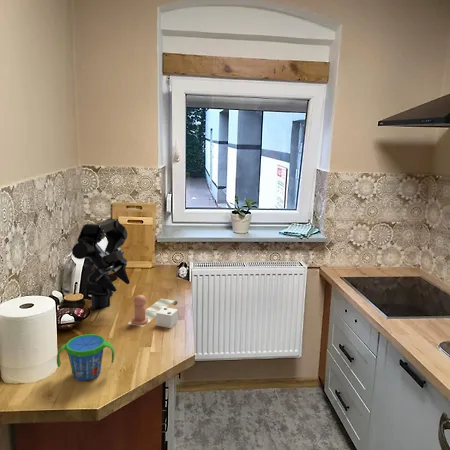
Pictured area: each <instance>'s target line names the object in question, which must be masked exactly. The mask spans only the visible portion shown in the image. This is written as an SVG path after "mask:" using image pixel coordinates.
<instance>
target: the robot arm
mask: <svg viewBox="0 0 450 450" xmlns="http://www.w3.org/2000/svg"><path fill="white" fill-rule="evenodd" d="M104 237H106V241H107V245H106V246H105V250H103V249H102V248H101V246H100V245H99V243H101V242H102V240H103V239H104ZM127 238H128V231H127V229H126V227H125V226H124V225H123V224H121V223H120V221H119V220H118V219H115V218H106V219H105V220H103V221H100V222H97V223H85V224H84V225H83V226H82V228H81V230H80V233H79V234H78V238H77V243H75V244H74V245H73V247H72V249H71V253H72V256H73V257H74V258H75V259H77V260H83V259H89V260H90V263H89V264H90V266H94V267H95V268H96V269H94V270H93V271H91V272H90V274H89V275H87V281H86V285H85V286H86V292H87V295H88V296H91V297H90V298H91V300H90V301H91V306H89V309H91V310H92V311H94V312H95V311H99V310H103V309H106V308H110V306H111V296H113V293H116V292H117V291H118V290H117V289H116V287H115V285H114V284H113V282H112V280H111V279H110V277H109V275H110V272H113V275H114V276H115V277H117V278H119V280H121V281H122V282H124V283H125V284H126V285H130V284H131V282H130V280H129V276H128V274H127V273H128V272H127V271H126V267H127V265H128V264H127V263H128V260H127V259H126V258H125V257H124V253H125V251H123V249H122V248H121V247H122V246H123V245H124V244H125V242H126V240H127Z"/></svg>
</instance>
